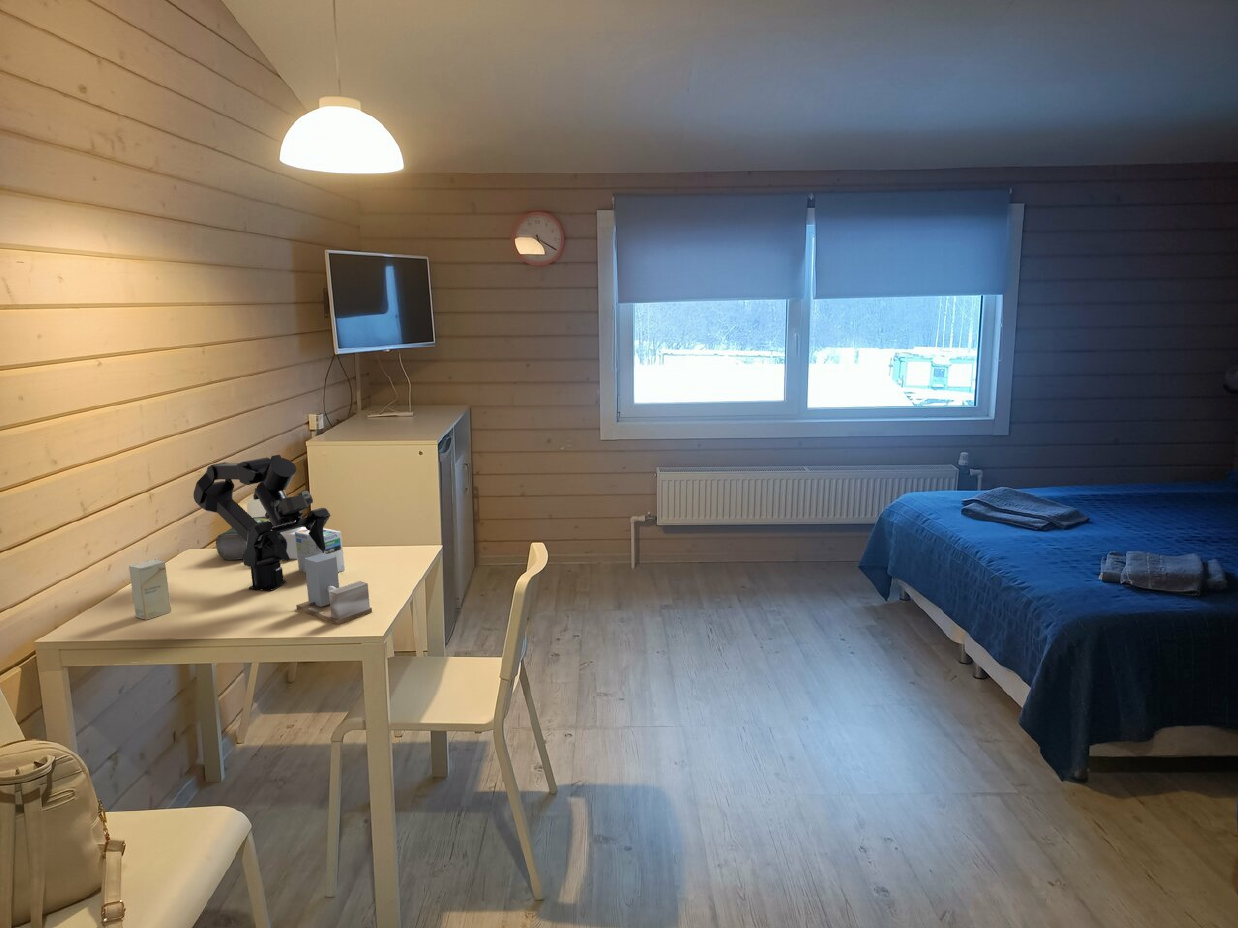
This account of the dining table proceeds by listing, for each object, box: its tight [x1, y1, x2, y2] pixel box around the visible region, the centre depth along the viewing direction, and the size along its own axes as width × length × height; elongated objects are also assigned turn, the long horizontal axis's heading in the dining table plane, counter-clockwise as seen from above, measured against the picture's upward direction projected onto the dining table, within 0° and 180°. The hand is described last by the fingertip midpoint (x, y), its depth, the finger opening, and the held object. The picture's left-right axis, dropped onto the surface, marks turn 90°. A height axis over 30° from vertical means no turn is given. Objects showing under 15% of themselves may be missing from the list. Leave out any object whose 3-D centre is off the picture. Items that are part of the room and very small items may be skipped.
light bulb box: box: [295, 527, 346, 573], centre depth 224 cm, size 11×7×11 cm, turn 58°
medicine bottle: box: [280, 514, 306, 560], centre depth 237 cm, size 7×7×12 cm
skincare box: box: [128, 558, 172, 621], centre depth 196 cm, size 6×4×12 cm
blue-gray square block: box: [304, 553, 340, 607], centre depth 197 cm, size 6×6×10 cm
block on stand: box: [295, 580, 373, 626], centre depth 196 cm, size 16×9×7 cm, turn 52°
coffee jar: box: [215, 515, 274, 561], centre depth 243 cm, size 10×8×19 cm
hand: (306, 555), depth 200 cm, fingers open, 9 cm apart
